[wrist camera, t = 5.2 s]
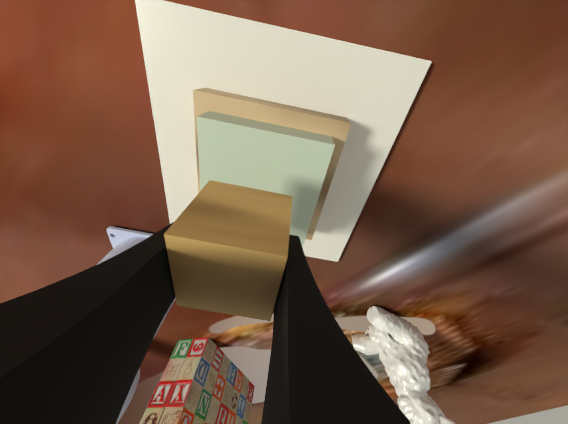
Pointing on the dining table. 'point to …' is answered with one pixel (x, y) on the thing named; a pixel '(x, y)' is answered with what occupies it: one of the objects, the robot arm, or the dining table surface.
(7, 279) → the dining table surface
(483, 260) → the dining table surface
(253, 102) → the oak base block
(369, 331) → the white creature statuette
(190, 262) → the ochre cube
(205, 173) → the sage top block
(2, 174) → the dining table surface
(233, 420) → the stack of blocks
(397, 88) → the linen mat
